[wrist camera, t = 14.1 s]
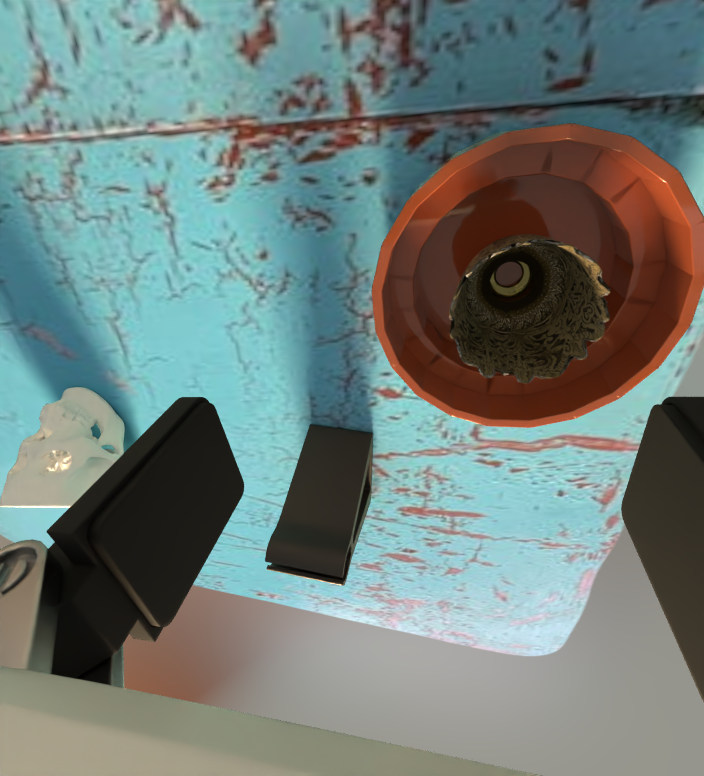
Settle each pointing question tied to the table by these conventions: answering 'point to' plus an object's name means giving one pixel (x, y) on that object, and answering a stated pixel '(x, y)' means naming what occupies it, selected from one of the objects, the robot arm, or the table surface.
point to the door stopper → (324, 506)
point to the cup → (528, 308)
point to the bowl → (513, 217)
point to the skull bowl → (65, 452)
